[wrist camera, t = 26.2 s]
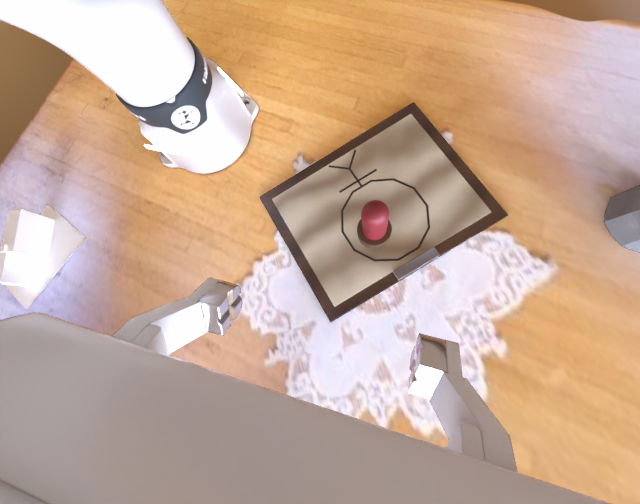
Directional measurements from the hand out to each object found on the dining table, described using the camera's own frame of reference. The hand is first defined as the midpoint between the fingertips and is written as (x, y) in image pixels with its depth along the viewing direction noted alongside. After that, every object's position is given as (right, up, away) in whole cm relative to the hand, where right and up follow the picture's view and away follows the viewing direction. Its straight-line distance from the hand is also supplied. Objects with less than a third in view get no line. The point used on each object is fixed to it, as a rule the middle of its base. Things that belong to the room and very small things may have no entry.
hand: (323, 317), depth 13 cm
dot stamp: (+8, +5, +30) cm, 31 cm away
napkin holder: (-48, +2, +38) cm, 62 cm away
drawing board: (+8, +10, +31) cm, 33 cm away
